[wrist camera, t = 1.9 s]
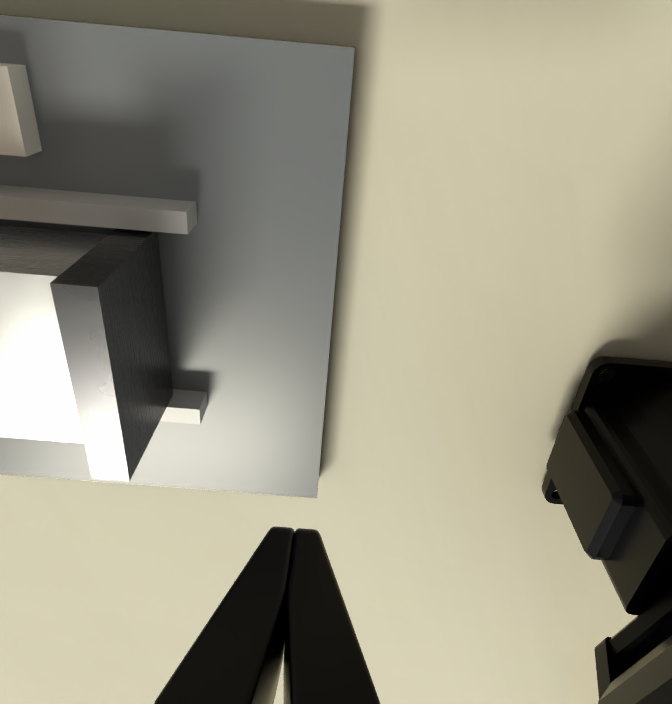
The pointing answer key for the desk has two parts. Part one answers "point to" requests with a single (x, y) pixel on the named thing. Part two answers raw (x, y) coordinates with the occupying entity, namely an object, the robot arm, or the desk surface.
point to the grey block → (84, 342)
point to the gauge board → (194, 226)
